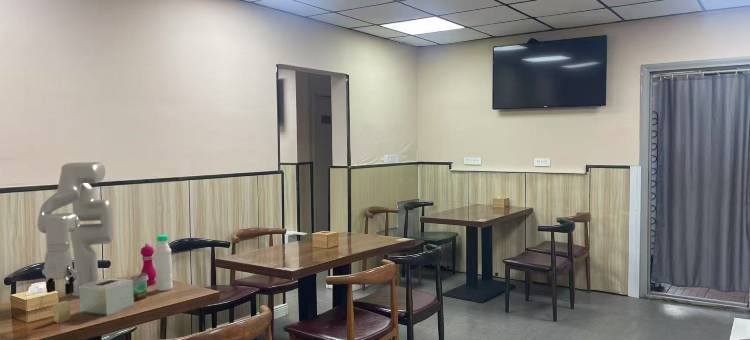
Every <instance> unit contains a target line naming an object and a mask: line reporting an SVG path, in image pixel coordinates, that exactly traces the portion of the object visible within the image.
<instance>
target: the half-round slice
mask: <svg viewBox="0 0 750 340" xmlns="http://www.w3.org/2000/svg"><path fill="white" fill-rule="evenodd" d="M140 274H141V275H137V276H133V277H131V278H127V279H128V280H133V298H134V302H140V301H143V300H145V299H147V289H148V288H147V287H148V286H147V280H148V279H149V278H148V275H147V274H146V273H141V272H140Z"/></svg>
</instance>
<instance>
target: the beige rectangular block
mask: <svg viewBox="0 0 750 340" xmlns="http://www.w3.org/2000/svg"><path fill="white" fill-rule="evenodd" d="M52 306H53V322H56V323H57V324H60V323H64V322H67V321H70V320H71V309H70V307H71V306H70V301H69V300H64V301H63V300H62V301H59V302H56V303H53V305H52ZM56 323H55V324H56Z"/></svg>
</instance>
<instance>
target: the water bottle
mask: <svg viewBox="0 0 750 340" xmlns="http://www.w3.org/2000/svg"><path fill="white" fill-rule="evenodd" d="M168 236H169V235H166V234H162V235H157V237H156V241H157V246H156V248H155V250H154V254H155V256H154V257H155V259H154V262H155V271H156V277H155V280H156V283H155V285H156V290H157V291H159V292H167V291H170V290H172V289H173V287H174V285H173V272H172V270H173V264H172V263H173V261H172V249H171V248H170V247H171V246H170V245H169V244H168V240H169V237H168Z"/></svg>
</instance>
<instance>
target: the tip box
mask: <svg viewBox="0 0 750 340" xmlns="http://www.w3.org/2000/svg"><path fill="white" fill-rule="evenodd" d="M128 279H129V278H117V277H116V278H115V277H113V278H112V277H106V278H105V277H104V278H101V279H98V280H97V281H94V282H90V283H87V284H83V285H80V286H79V295H80V297H79V311H80V313H81V314H88V315H96V316H105V317H109V316H110V315H113V314H116V313H118V312H121V311H124V310H127V309H131V308H132V307H135V305H134V302H135V301H134V298H133V280H128Z"/></svg>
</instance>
